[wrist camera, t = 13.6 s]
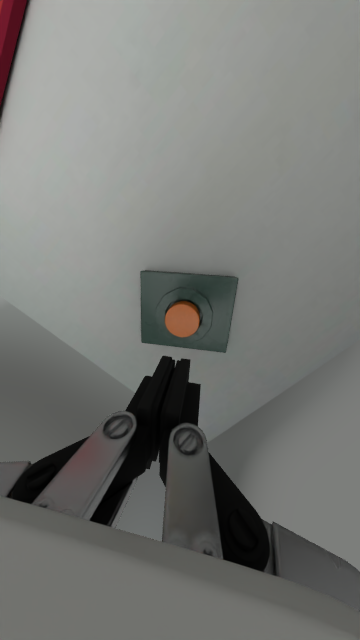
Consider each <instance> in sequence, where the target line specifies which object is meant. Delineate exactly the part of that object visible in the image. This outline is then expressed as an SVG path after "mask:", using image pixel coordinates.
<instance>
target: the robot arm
mask: <svg viewBox="0 0 360 640" xmlns="http://www.w3.org/2000/svg"><path fill="white" fill-rule="evenodd" d="M189 369H190V360H189V359H182V358H181V361H179V360H177V363H176V366H175V360H172V357H168V356H162V358H161V360H160V362H159V364H158V366H157V368H156V370H155V372H154V374H153V376H152V377H151V376H145V377H144V379H143V381H142V382H141V384H140V386H139V388H138V389H137V391H136V393H135V395H134V397H133V398H132V400H131V402H130V404H129V405H128V407H127V409H126V411H118V412H115V413H112V414H111V415H109V416H108V417H106V418H105V419H104V420H103V421H102V423H101V424H100V425H99V426H98V427H97V428H96V430H95V431H94V432H93V433H92V434H91V435H90V436H89V437H87V438H84V439H82V440H80V441H78V442H76V443H74V444H72V445H70V446H68V447H66V448H64V449H62V450H59V451H57V452H55V453H53V454H51V455H49V456H47V457H45V458H43V459H41V460H39V461H37V462H36V463H34V464H31V462H30V461H18V462H0V640H360V572H359V571H358V570H357V569H356V568H355V567H353V566H352V565H351V564H349V563H348V562H347V561H345V560H343V559H342V558H340V557H338V556H336V555H334V554H333V553H331V552H329V551H327V550H325V549H323V548H321V547H320V546H318V545H316V544H314V543H312V542H310V541H308V540H306V539H305V538H303V537H301V536H299V535H297V534H295V533H294V532H292V531H290V530H288V529H286V528H284V527H282V526H281V525H279V524H277V523H275V522H273V523H272V524H269V523H268V522H266V521H264V520H263V519H261V518H260V516H259V515H258V513H257V512H256V510H255V509H254V508H253V507H252V505H251V504H250V503H249V502H248V500H247V499H246V498H245V497H244V495H243V494H242V493H241V492H240V490H239V489H238V488H237V487H236V485H235V484H234V483H233V482H232V480H230V478H229V477H228V476H227V475H226V473H225V472H224V471H223V469H222V468H221V467H220V466H219V464H218V463H217V462H216V461H215V459H214V458H213V457H212V456H211V455H210V453H209V452H208V446H207V440H206V436H205V434H204V433H203V431H202V430H201V429H200V428H199V427H198V415H199V400H200V385H201V384H195V383H189V382H188V380H189ZM158 452H159V462H160V477H161V479H162V481H163V483H164V485H165V487H166V492H165V506H164V521H163V534H162V542H161V541H157V540H154V539H151V538H147V537H144V536H140V535H137V534H133V533H130V532H126V531H123V530H120V529H116V526H117V523H118V521H119V519H120V517H121V515H122V513H123V510H124V508H125V506H126V504H127V502H128V500H129V497H130V495H131V493H132V491H133V489H134V486H135V484H136V482H137V478H138V476H139V475H141V474H142V473H144V472H145V470H146V469H150V466H151V462H152V461H156V459H157V456H158Z"/></svg>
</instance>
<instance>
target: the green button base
mask: <svg viewBox="0 0 360 640" xmlns="http://www.w3.org/2000/svg"><path fill="white" fill-rule="evenodd" d="M237 283H238V278H237V277H233V276H219V275H205V274H191V273H177V272H163V271H149V270H145V271H141V339H142V343H150V344H158V345H166V346H175V347H183V348H191V349H199V350H208V351H216V352H224V353H226V349H227V343H228V337H229V331H230V325H231V319H232V313H233V307H234V301H235V295H236V289H237ZM180 301H187V302H190V303H192V304H193V305H195V306H196V307H197V309H198V311H199V314H200V323H199V327H198V329H197V331H196V332H195V333H194V334H192V335H191V336H188V337H178V336H175V335H173V334H172V333H171V332H170V331H169V330H168V329H167V327H166V325H165V315H166V313H167V311H168V310H169V309H170V307H171V306H172V305H173V304H175V303H177V302H180Z"/></svg>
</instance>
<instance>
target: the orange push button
mask: <svg viewBox="0 0 360 640" xmlns="http://www.w3.org/2000/svg"><path fill="white" fill-rule="evenodd" d="M199 323H200V314H199V311H198V309H197V307H196V306H195V305H193V304H192V303H190V302H187V301H180V302H177V303H175V304H173V305H172V306H171V307H170V309H169V310H168V311H167V313H166V315H165V325H166V327H167V329H168V330H169V331H170V332H171V333H172V334H173V335H175V336H178V337H188V336H191V335H192V334H194V333H195V332H196V331H197V329H198V327H199Z"/></svg>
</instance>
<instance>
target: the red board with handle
mask: <svg viewBox="0 0 360 640" xmlns="http://www.w3.org/2000/svg"><path fill="white" fill-rule="evenodd" d="M26 2H27V0H0V105H1V101H2V97H3V93H4V90H5V86H6V82H7V78H8V74H9V70H10V66H11V62H12V58H13V54H14V50H15V46H16V42H17V38H18V34H19V30H20V26H21V22H22V18H23V14H24V10H25V6H26Z"/></svg>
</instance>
